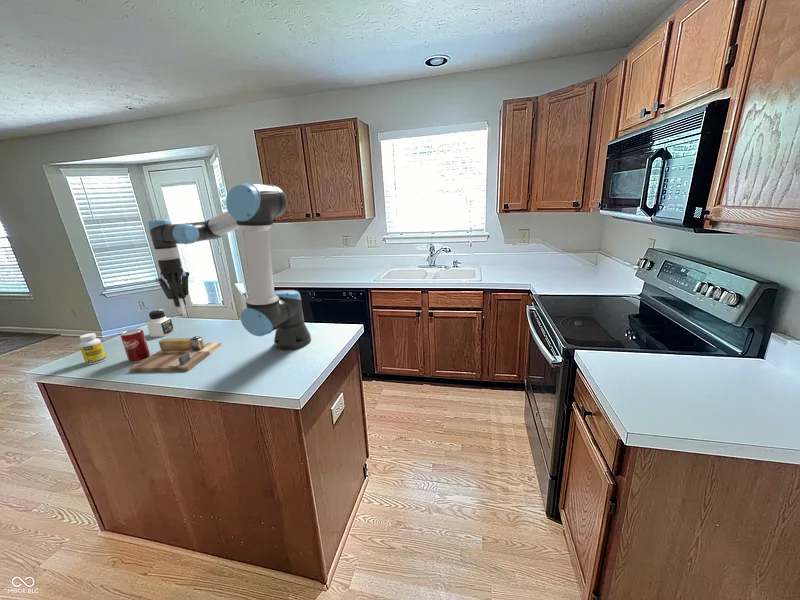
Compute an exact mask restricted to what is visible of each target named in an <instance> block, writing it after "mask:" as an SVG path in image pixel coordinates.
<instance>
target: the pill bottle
mask: <svg viewBox="0 0 800 600" xmlns="http://www.w3.org/2000/svg"><path fill="white" fill-rule="evenodd" d="M79 339H80V341H81V342H80V343H79V348H80V351H81V353H82V356H83V359H84V362H85V364H86V365H95V364H99V363H103V362H104V361H106V359H107V356H106V353H105V349H104V347H103V343H102V341H101V339H100V338H97V334H96V333H95V332H91V333H84V334H82V335H80V336H79Z"/></svg>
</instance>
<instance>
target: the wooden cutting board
mask: <svg viewBox="0 0 800 600" xmlns="http://www.w3.org/2000/svg"><path fill="white" fill-rule="evenodd" d="M204 345H205V346H204V347H203V348H201V349H198V350H192V349H191V350H161V349H160V350H158V351H157V352H156V353H154V354H150V357H148V358H146V359H145V360H143V361H141V362H137V364H135V365H133V366H131V367H130V368H129V371H130V373H146V372H147V373H151V372H154V373H155V372H189V371H191V370H192V369H194V367H196V366H197V365H199V363H201V362H202V361H204V360H205V359H206V358H207V357H209V356H210V355H212V354H213V353H215V351H216V350H218V349H220V348H221V347H222V346H223V345H222V342H204ZM216 352H217V351H216Z"/></svg>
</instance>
